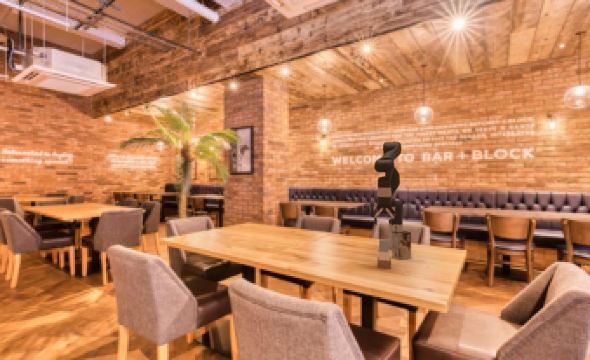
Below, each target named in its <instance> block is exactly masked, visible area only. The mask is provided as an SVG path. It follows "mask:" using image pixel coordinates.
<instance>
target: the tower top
mask: <svg viewBox="0 0 590 360" xmlns="http://www.w3.org/2000/svg"><path fill="white" fill-rule="evenodd" d="M390 250H391V249H389V252H379V248H378V250H377V251H378V254H377V255H378V256H377V261H378V260H386V261H390V258H391V252H390Z"/></svg>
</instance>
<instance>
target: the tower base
mask: <svg viewBox="0 0 590 360" xmlns="http://www.w3.org/2000/svg"><path fill="white" fill-rule="evenodd" d="M376 267H377V269H384V270H385V269H387V270H392V259H391V257H390V261H386V260H378V259H377V266H376Z"/></svg>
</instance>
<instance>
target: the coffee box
mask: <svg viewBox="0 0 590 360" xmlns="http://www.w3.org/2000/svg"><path fill="white" fill-rule="evenodd" d="M391 250H392V258H394V259H396V260H398V261H399V260H408V259H412V233H411V232H410V231H407V230H403V231H393V232H392V249H391Z"/></svg>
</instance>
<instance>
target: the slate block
mask: <svg viewBox="0 0 590 360" xmlns="http://www.w3.org/2000/svg"><path fill="white" fill-rule="evenodd" d="M378 243H379V244H378V249H379V252H389V250H390V249H389V238H385V239H384V238H379V240H378Z"/></svg>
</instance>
